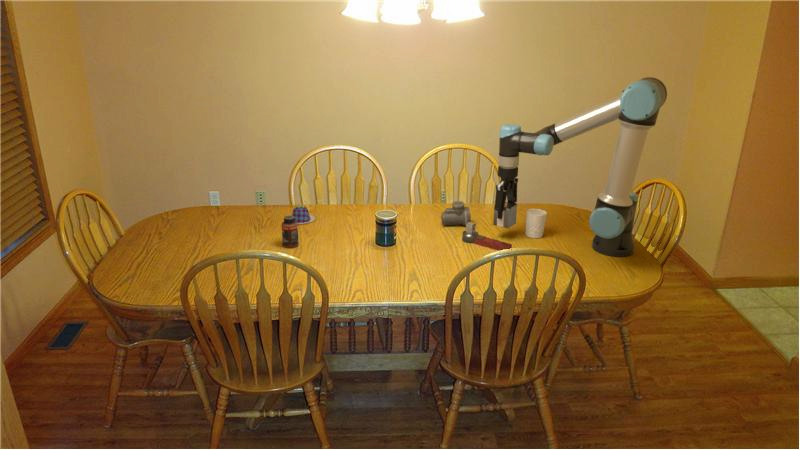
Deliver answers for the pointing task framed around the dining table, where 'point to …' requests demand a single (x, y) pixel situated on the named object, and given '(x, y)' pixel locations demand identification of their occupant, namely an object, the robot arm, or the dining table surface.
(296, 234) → the supplement bottle
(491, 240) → the ratchet
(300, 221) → the purple plaid hat
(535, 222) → the white cup
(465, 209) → the pipe fitting
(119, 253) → the dining table surface
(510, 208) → the dark metal cube
